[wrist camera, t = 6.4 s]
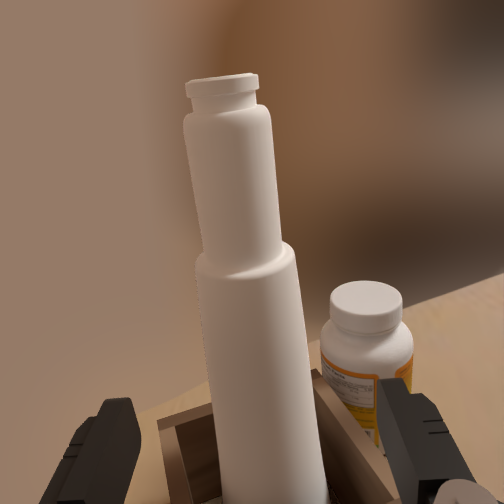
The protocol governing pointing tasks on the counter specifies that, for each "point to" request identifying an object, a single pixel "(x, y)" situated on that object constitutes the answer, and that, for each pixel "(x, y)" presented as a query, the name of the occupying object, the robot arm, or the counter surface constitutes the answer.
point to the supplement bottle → (365, 348)
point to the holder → (331, 443)
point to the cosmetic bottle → (250, 303)
